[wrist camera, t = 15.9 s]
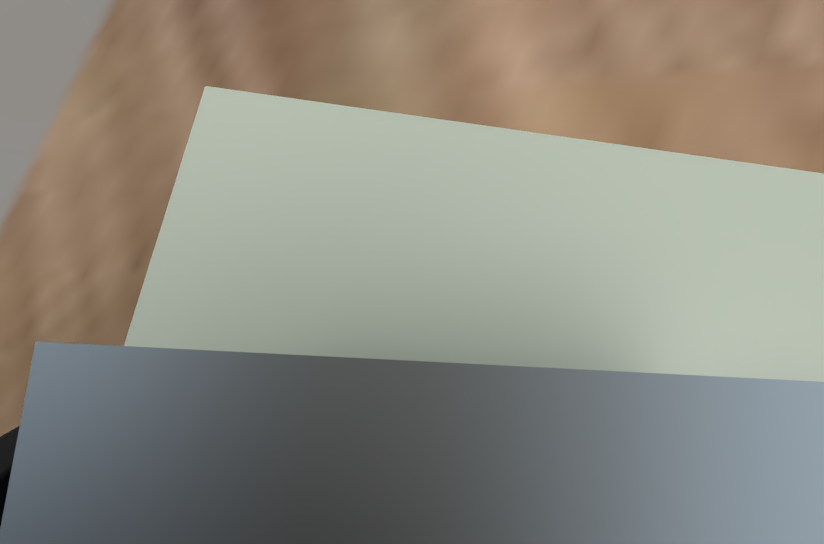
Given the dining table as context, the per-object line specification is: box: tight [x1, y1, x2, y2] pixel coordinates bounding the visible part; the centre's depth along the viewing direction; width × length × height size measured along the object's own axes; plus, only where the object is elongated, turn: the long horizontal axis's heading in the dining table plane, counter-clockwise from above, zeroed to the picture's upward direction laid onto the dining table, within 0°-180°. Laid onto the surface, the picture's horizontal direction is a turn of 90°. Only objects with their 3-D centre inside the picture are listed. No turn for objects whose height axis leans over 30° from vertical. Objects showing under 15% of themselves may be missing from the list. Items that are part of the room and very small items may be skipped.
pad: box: [124, 86, 824, 382], centre depth 14 cm, size 14×14×4 cm
